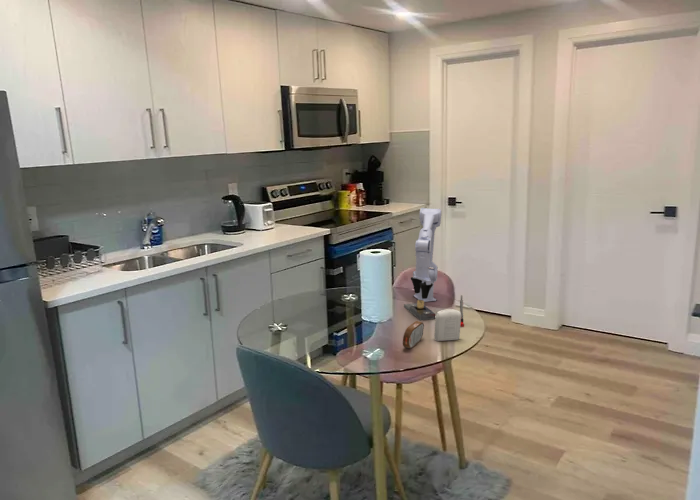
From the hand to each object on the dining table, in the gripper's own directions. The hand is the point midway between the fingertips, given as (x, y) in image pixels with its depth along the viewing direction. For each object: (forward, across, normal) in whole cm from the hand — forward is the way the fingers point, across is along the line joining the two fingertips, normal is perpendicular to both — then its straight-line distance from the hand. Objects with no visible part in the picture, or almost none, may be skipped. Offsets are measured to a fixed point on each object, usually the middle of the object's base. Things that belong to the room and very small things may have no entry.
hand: (420, 295), depth 238 cm
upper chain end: (+8, +3, 0) cm, 9 cm away
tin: (+9, +30, -17) cm, 36 cm away
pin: (+8, 0, 0) cm, 8 cm away
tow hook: (+9, +15, +8) cm, 19 cm away
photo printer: (+8, +29, -2) cm, 30 cm away
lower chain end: (+8, -3, 0) cm, 9 cm away
